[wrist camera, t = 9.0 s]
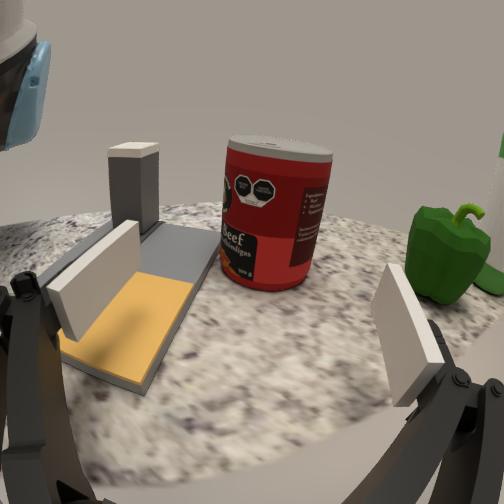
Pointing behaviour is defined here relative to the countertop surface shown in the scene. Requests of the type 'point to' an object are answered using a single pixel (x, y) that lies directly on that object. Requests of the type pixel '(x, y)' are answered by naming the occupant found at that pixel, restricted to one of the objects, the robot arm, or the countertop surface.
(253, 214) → the canned food
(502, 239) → the wine bottle
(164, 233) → the panel
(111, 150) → the toggle
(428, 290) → the bell pepper
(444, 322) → the countertop surface
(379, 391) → the countertop surface
